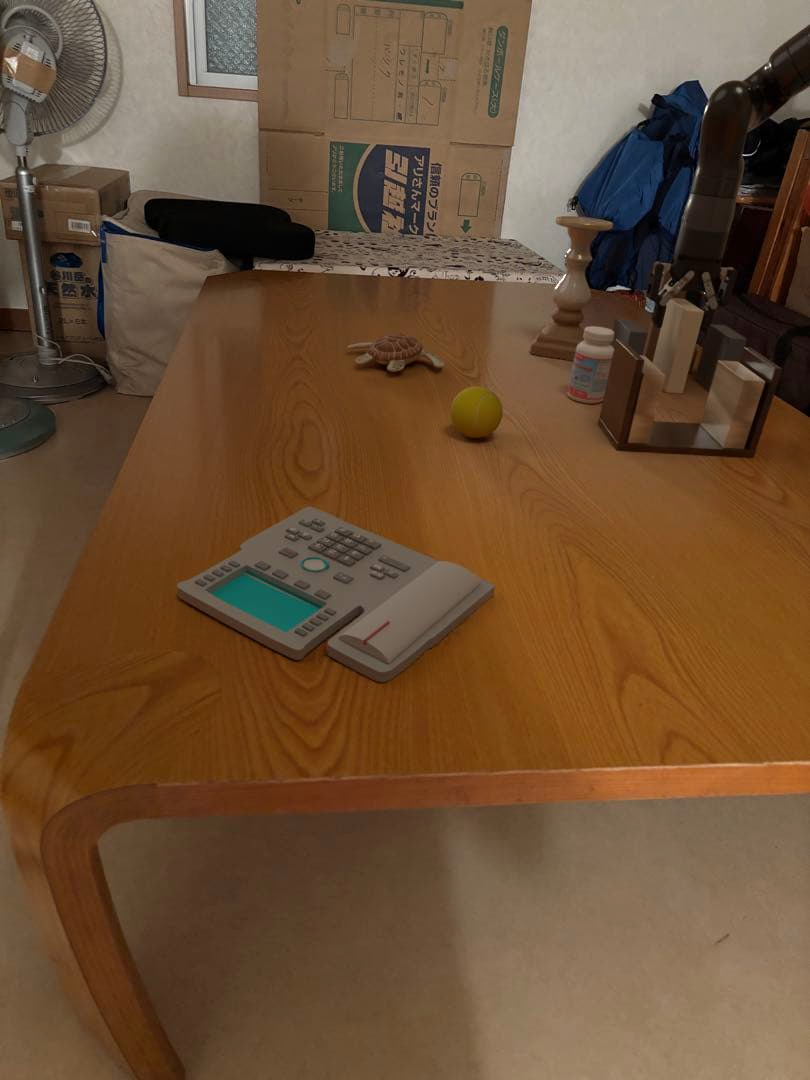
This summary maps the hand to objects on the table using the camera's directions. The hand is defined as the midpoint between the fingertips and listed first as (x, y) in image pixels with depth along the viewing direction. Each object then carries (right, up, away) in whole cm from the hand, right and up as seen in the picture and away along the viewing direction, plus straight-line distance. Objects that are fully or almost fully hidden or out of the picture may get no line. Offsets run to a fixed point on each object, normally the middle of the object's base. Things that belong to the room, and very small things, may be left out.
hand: (679, 328), depth 132 cm
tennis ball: (-37, -22, -23) cm, 49 cm away
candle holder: (-16, 0, +19) cm, 25 cm away
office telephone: (-53, -41, -60) cm, 90 cm away
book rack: (-7, -21, -19) cm, 29 cm away
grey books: (-1, -9, +5) cm, 10 cm away
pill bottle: (-17, -13, -5) cm, 22 cm away
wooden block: (+3, -3, +15) cm, 16 cm away
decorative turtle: (-49, -5, +4) cm, 49 cm away
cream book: (-1, -9, +5) cm, 10 cm away
